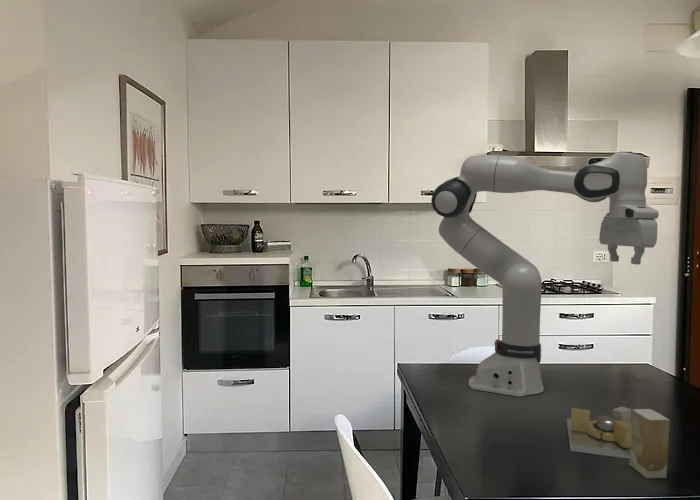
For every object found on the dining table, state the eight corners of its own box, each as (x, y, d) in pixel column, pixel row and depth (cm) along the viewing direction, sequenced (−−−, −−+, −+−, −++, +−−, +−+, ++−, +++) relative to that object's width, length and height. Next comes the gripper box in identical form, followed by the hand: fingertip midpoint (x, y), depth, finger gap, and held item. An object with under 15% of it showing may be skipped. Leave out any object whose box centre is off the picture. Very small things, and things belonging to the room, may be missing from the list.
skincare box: (628, 465, 114) (630, 408, 114) (647, 464, 115) (650, 407, 114) (647, 479, 108) (649, 419, 107) (668, 479, 108) (670, 418, 108)
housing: (570, 450, 121) (571, 427, 121) (567, 424, 137) (567, 403, 137) (656, 462, 116) (657, 438, 115) (642, 433, 132) (642, 411, 131)
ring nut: (572, 441, 122) (573, 421, 122) (569, 418, 136) (569, 400, 136) (640, 449, 117) (641, 429, 117) (629, 425, 131) (630, 407, 131)
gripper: (594, 212, 157) (592, 259, 158) (640, 211, 137) (637, 265, 138) (615, 212, 158) (612, 260, 159) (663, 211, 138) (660, 266, 138)
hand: (624, 262), depth 148 cm, fingers open, 8 cm apart
